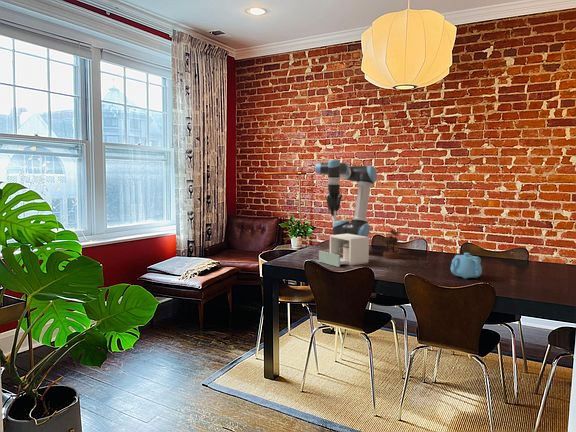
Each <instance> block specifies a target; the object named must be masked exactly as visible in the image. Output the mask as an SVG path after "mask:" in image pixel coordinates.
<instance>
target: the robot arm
mask: <svg viewBox="0 0 576 432" xmlns="http://www.w3.org/2000/svg"><path fill="white" fill-rule="evenodd" d="M314 170H315V173H316V174H317V175H327V184H328V185H327V190H328V192H327V195H324V197H325V199H326V204H327V209H328V210H329V211H330V216H331V221H333V223H332V235H338V234H353V235H359V236H365V237H369V234H370V231H371V230H370V229H371V228H370V223H368V220H367V213H368V205H369V201H370V200H369V197H370V191H371V187H372V186H373V185H374V183H375V182H377V179H378V172H377V169H376V168H375V166H373V165H351V166H350V165H349V164H348V163H347V162H341V161H340V159H329V160H328V161H327V162H318V163H316V164H315V166H314ZM341 179H343V180H346V181H350V182H356V184H357V185H358V187H357V192H356V193H357V194H356V200H355V207H354V214H353V218H352V219H351V221H350V220H349V219H345V220H344V219H343V220H337V215H338V210H340V208H341V207H340V206H341V202H342V197H343V194H342V193H340V191H341V188H340V187H341V185H340V184H341Z"/></svg>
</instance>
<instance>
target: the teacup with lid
mask: <svg viewBox="0 0 576 432" xmlns="http://www.w3.org/2000/svg"><path fill="white" fill-rule="evenodd" d="M349 242H350V241H349ZM349 242H348V243H346V244H344V245H343V247H341V248H343V253H342V252H341V248H340V249H339V251H340V253H341V254H342V255H343V259H345V260H349Z"/></svg>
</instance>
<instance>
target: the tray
mask: <svg viewBox="0 0 576 432" xmlns="http://www.w3.org/2000/svg"><path fill="white" fill-rule="evenodd" d="M318 262H319V263H323V264H327V265H330V266H334V267H338V268H339V267H341V265H345V264H347V263H349V260H345V259H343V255H337V254H333V253H330V251H329V252H328V251H323V250H318Z"/></svg>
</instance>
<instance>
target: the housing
mask: <svg viewBox="0 0 576 432" xmlns="http://www.w3.org/2000/svg"><path fill="white" fill-rule="evenodd" d="M349 241H350V242H349ZM348 242H349V263H347V264H344V265H346V266H351V267H353V266H358V265H364V264H368V263H369V258H370V257H369V255H370V254H369V253H370V236H368V237H365V236H359V235H353V234H338V235H333V234H331V235H329V253H333V254H337V255H342V254H341V253H340V251H339V249H340V248H341V247H343V245H344V244H346V243H348ZM341 252H342V253H343V248H341Z"/></svg>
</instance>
